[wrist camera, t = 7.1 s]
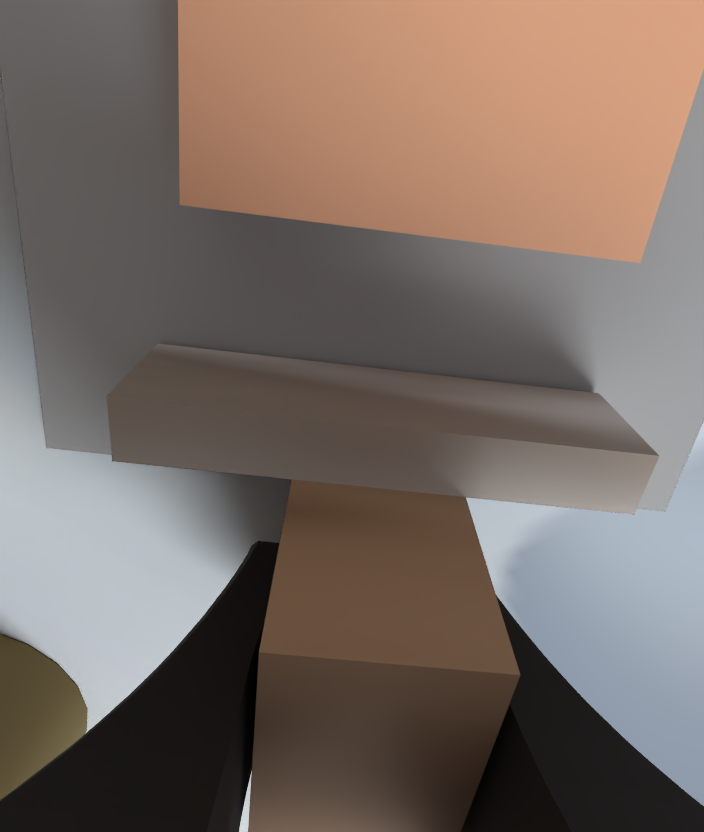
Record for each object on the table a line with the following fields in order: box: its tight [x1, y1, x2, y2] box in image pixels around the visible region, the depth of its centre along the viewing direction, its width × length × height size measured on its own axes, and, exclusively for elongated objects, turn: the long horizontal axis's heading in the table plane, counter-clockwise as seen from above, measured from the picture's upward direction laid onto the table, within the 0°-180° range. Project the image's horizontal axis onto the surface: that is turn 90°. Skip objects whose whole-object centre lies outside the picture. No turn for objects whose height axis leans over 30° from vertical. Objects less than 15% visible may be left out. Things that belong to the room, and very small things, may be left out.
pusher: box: [106, 344, 659, 832], centre depth 10 cm, size 7×9×6 cm
